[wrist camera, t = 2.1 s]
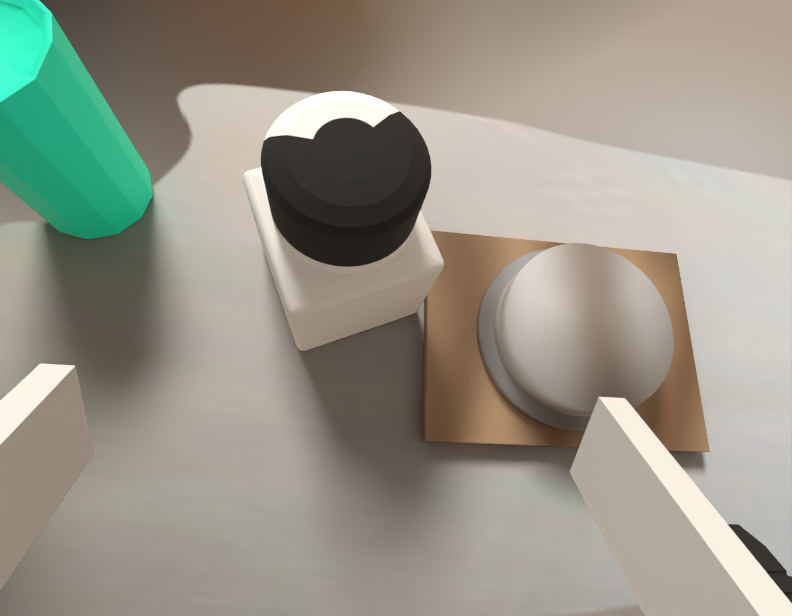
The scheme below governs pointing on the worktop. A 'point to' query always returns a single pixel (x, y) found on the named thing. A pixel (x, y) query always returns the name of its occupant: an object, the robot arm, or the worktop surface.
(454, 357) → the stub board
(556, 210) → the worktop surface
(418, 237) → the medicine bottle
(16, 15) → the candle
